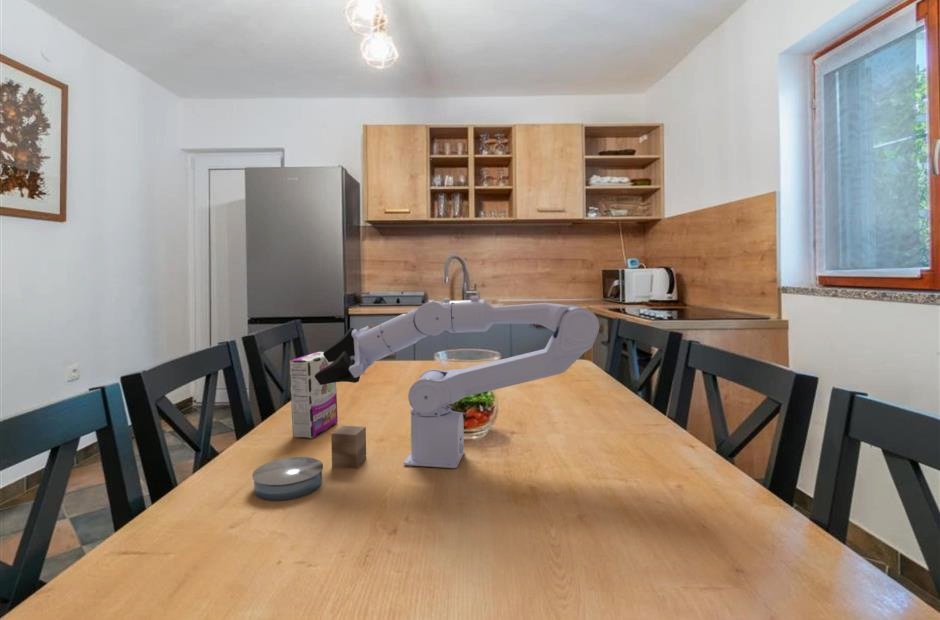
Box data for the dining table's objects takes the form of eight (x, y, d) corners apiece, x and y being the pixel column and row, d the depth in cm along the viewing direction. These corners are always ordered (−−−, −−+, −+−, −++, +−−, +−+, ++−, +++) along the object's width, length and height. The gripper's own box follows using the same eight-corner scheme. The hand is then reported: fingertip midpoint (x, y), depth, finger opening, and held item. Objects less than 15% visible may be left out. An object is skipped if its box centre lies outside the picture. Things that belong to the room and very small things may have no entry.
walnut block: (366, 459, 86) (365, 426, 85) (356, 468, 81) (355, 435, 81) (343, 457, 86) (342, 425, 86) (332, 467, 82) (331, 433, 81)
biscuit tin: (334, 476, 79) (334, 459, 78) (302, 505, 68) (301, 485, 68) (277, 472, 80) (277, 455, 80) (238, 500, 70) (237, 480, 70)
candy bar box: (318, 421, 108) (316, 351, 107) (338, 423, 107) (336, 351, 106) (290, 438, 97) (288, 359, 96) (312, 439, 96) (310, 360, 95)
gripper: (380, 303, 89) (318, 332, 91) (372, 340, 76) (300, 373, 78) (398, 332, 92) (337, 360, 94) (393, 372, 79) (323, 404, 81)
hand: (322, 368), depth 86 cm, fingers open, 7 cm apart
